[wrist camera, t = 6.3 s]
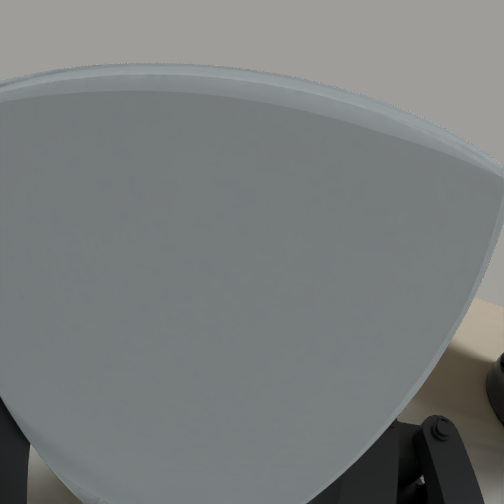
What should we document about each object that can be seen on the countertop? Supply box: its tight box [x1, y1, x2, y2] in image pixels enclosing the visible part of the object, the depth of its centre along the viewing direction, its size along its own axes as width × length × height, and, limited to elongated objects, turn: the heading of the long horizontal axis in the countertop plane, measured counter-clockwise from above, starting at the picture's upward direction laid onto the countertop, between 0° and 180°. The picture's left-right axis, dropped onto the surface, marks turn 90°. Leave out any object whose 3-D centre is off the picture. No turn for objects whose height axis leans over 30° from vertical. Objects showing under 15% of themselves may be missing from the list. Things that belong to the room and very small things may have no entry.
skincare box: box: [0, 63, 504, 504], centre depth 8 cm, size 8×7×16 cm
